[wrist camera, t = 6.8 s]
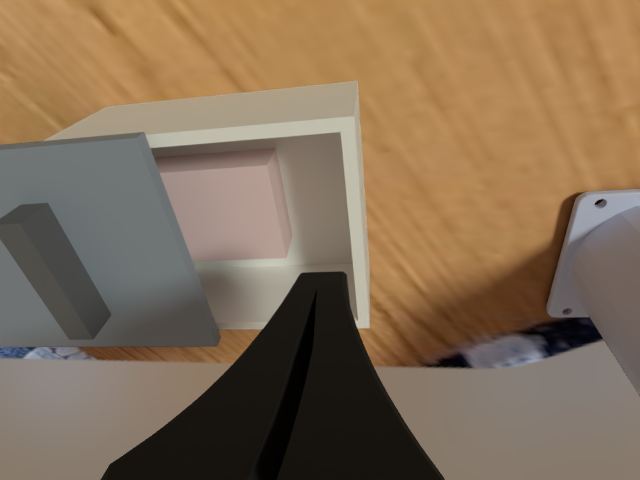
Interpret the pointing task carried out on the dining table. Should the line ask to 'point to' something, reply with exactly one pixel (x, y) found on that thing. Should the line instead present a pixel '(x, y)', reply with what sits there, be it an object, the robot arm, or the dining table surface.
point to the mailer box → (258, 190)
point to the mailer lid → (94, 249)
